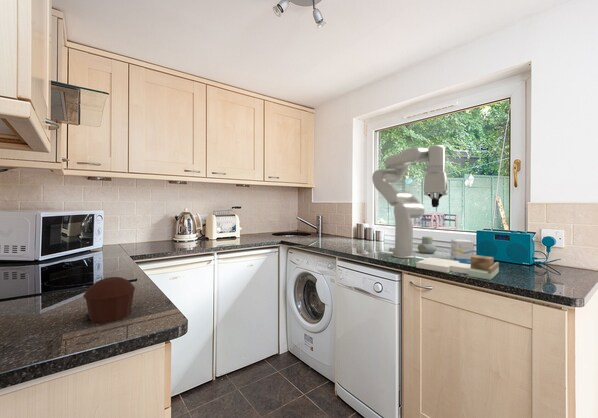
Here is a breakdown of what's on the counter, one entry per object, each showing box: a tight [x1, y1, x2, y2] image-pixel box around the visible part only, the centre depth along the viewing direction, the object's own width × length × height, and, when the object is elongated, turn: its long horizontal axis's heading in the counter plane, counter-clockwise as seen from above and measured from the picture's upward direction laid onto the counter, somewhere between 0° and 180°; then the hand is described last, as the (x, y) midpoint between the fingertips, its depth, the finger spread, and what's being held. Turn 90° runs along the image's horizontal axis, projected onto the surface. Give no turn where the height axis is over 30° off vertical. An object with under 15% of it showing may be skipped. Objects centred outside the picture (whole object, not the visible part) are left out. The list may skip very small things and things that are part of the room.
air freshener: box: [417, 236, 437, 255], centre depth 175 cm, size 11×8×10 cm
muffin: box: [82, 276, 136, 324], centre depth 74 cm, size 12×11×10 cm
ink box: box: [450, 238, 475, 264], centre depth 148 cm, size 9×8×12 cm
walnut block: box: [471, 254, 495, 271], centre depth 123 cm, size 7×7×5 cm
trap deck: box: [415, 257, 500, 281], centre depth 131 cm, size 30×18×4 cm, turn 46°
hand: (435, 207), depth 140 cm, fingers closed
